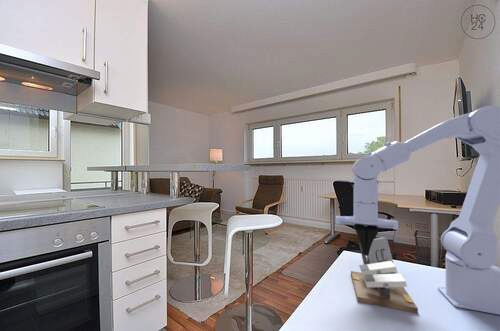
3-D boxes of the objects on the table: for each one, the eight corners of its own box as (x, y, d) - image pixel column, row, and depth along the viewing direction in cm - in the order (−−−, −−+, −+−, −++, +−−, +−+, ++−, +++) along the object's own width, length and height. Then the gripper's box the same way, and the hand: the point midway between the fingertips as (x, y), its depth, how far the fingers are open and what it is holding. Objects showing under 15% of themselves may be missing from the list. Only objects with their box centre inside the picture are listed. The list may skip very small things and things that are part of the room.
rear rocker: (393, 266, 57) (391, 260, 57) (397, 272, 53) (395, 266, 53) (361, 270, 59) (359, 264, 59) (363, 277, 56) (361, 270, 56)
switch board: (397, 282, 58) (397, 270, 58) (417, 313, 45) (417, 298, 45) (350, 274, 62) (350, 263, 62) (357, 301, 49) (357, 287, 49)
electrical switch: (375, 276, 61) (372, 242, 62) (359, 270, 65) (356, 238, 66) (395, 270, 65) (392, 238, 66) (378, 264, 69) (376, 235, 70)
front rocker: (401, 280, 50) (400, 273, 51) (407, 288, 47) (405, 280, 47) (364, 281, 53) (363, 274, 53) (367, 288, 50) (365, 281, 50)
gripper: (392, 201, 59) (392, 251, 59) (335, 198, 64) (335, 244, 63) (401, 205, 52) (400, 262, 52) (336, 202, 57) (336, 253, 57)
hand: (365, 253), depth 57 cm, fingers closed
